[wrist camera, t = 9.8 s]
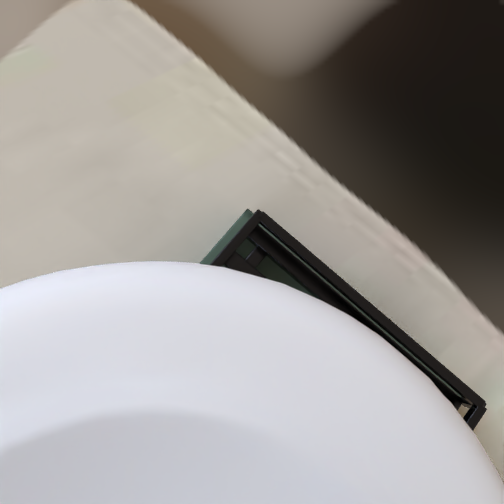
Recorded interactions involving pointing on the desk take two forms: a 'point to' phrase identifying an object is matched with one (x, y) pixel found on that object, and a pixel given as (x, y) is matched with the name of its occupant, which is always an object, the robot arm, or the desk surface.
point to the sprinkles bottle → (216, 397)
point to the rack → (339, 300)
